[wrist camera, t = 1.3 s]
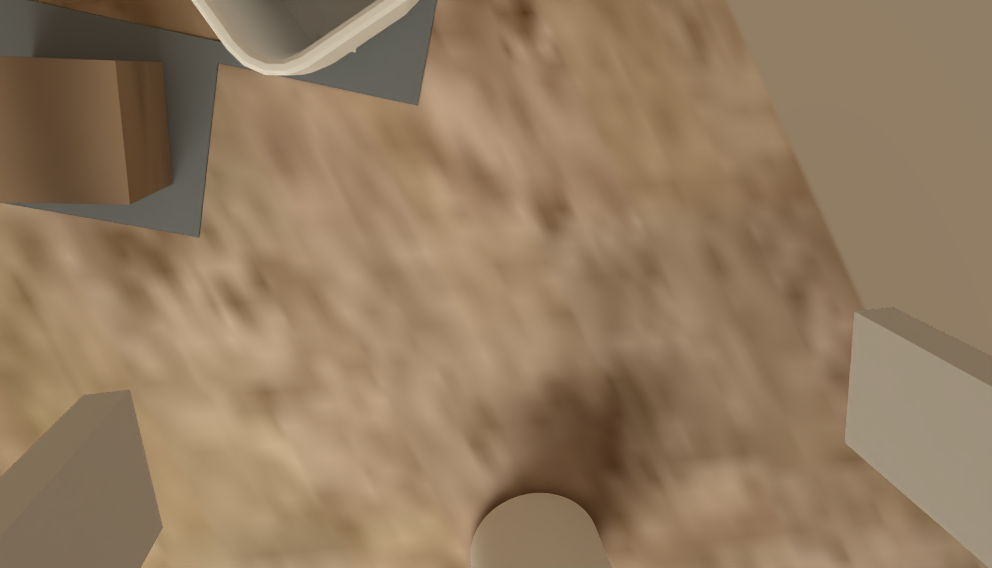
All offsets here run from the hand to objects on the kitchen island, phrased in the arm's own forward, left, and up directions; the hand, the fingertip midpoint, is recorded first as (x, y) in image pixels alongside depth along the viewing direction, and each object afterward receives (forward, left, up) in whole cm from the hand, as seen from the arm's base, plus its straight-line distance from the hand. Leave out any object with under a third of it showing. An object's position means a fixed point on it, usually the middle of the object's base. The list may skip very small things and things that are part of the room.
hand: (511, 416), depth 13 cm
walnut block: (-17, 0, -27) cm, 32 cm away
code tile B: (-17, 0, -27) cm, 32 cm away
